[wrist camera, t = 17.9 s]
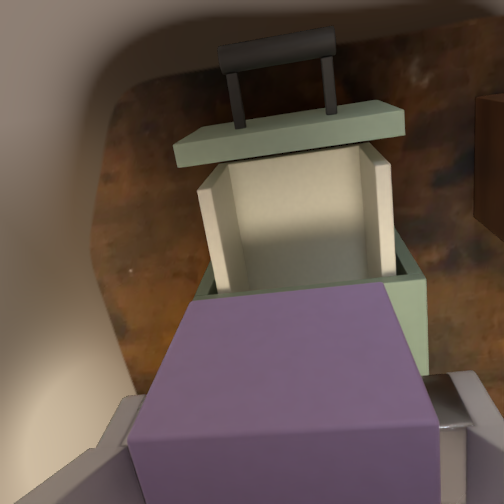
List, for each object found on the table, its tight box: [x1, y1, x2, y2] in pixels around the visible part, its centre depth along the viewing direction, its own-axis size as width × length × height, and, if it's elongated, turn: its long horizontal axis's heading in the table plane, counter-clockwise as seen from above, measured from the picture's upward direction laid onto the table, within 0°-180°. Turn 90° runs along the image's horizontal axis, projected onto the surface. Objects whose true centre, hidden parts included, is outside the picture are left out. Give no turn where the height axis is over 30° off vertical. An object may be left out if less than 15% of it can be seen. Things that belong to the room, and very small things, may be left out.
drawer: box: [173, 26, 405, 294], centre depth 28 cm, size 18×11×8 cm, turn 9°
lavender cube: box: [127, 282, 441, 504], centre depth 9 cm, size 4×4×4 cm
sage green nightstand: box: [193, 227, 429, 376], centre depth 32 cm, size 15×13×10 cm
